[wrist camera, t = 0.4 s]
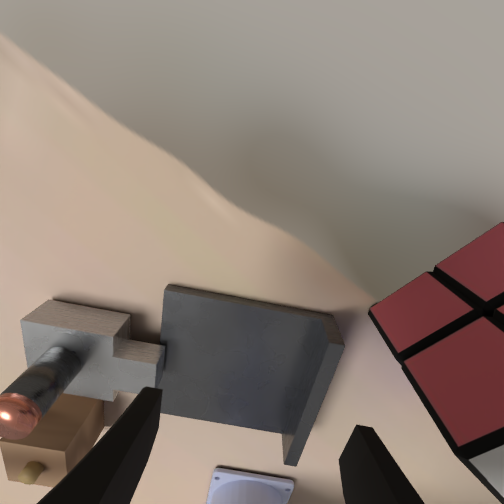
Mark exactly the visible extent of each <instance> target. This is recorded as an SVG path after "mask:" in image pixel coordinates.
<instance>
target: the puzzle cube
mask: <svg viewBox="0 0 504 504" xmlns="http://www.w3.org/2000/svg"><path fill="white" fill-rule="evenodd" d="M368 315H369V316H370V318H371V320H372V321H373V323H374V325H375V326H376V328H377V329H378V331H379V333H380V334H381V336H382V338H383V339H384V341H385V342H386V344H387V346H388V347H389V349H390V351H391V352H392V354H393V356H394V357H395V359H396V360H397V361H398V362H399V363H400V364H401V366H402V367H401V368H402V370H403V372H404V373H405V375H406V377H407V378H408V380H409V381H410V383H411V385H412V386H413V388H414V390H415V391H416V393H417V394H418V396H419V398H420V399H421V401H422V403H423V404H424V406H425V407H426V409H427V411H428V412H429V414H430V416H431V417H432V419H433V421H434V422H435V424H436V425H437V427H438V429H439V430H440V432H441V434H442V435H443V437H444V438H445V440H446V442H447V443H448V445H449V447H450V448H451V450H452V451H453V453H454V455H455V456H456V457H457V458H458V459H459V460H460V461H461V462H462V463H463V464H464V465H465V466H466V467H467V468H468V469H469V470H470V471H471V472H472V473H473V474H474V475H475V476H476V477H477V478H478V479H479V480H480V481H481V483H482V484H483V485H484V486H485V487H486V488H487V489H488V490H489V491H490V492H491V493H492V494H493V495H494V496H495V497H496V498H497V499H498V500H499V501H500V502H501V503H502V504H504V222H501V223H499V224H498V225H496V226H495V227H493V228H492V229H490V230H489V231H487V232H486V233H484V234H483V235H481V236H479V237H478V238H476V239H475V240H473V241H472V242H470V243H469V244H467V245H466V246H464V247H463V248H461V249H460V250H458V251H457V252H455V253H454V254H452V255H450V256H449V257H447V258H446V259H444V260H443V261H441V262H440V263H439V264H437V265H435V267H434V270H433V272H425V273H423V274H422V275H420V276H419V277H417V278H415V279H414V280H412V281H411V282H409V283H408V284H406V285H405V286H403V287H402V288H400V289H399V290H397V291H396V292H394V293H393V294H391V295H390V296H388V297H386V298H385V299H383V300H382V301H380V302H379V303H377V304H376V305H374V306H373V307H371V308H370V309H369V312H368Z"/></svg>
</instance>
